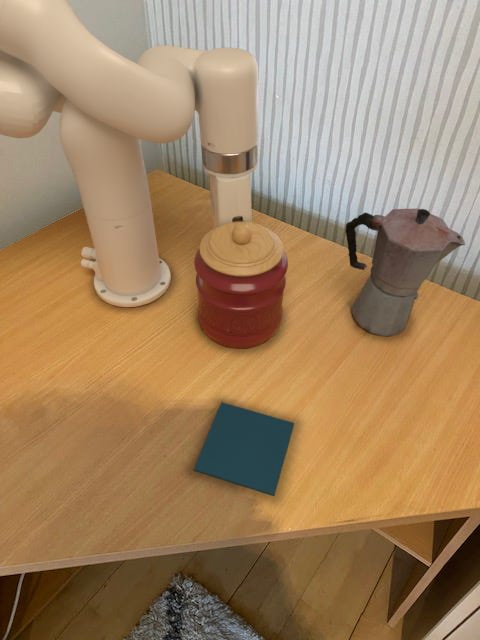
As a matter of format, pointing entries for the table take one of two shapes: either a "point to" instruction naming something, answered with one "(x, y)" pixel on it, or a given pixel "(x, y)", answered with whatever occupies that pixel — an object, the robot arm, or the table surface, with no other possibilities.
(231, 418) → the cloth
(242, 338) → the kitchen canister
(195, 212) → the table surface
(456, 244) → the moka pot
